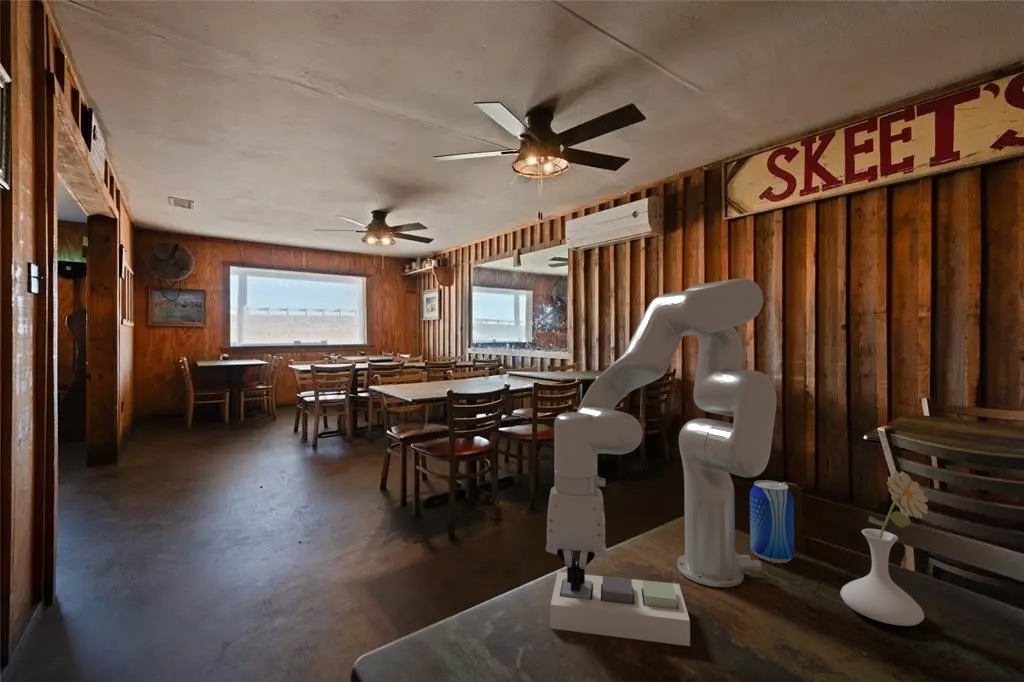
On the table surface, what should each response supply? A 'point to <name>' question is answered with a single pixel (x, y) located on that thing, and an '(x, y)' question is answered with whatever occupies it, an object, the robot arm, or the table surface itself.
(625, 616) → the keypad
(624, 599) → the charcoal key
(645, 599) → the sage key
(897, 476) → the flower in vase
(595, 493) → the robot arm
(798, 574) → the table surface
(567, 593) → the slate key
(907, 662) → the table surface
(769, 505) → the beer can
